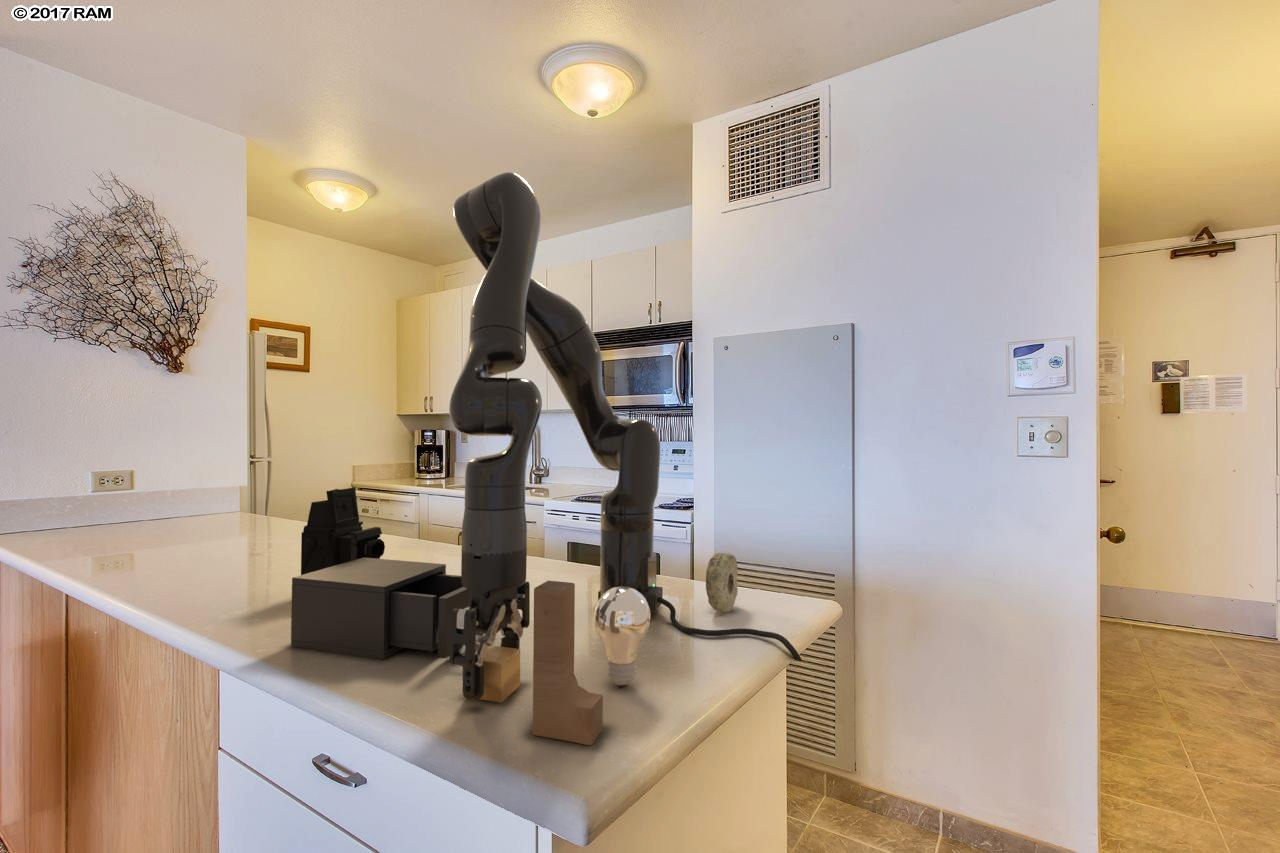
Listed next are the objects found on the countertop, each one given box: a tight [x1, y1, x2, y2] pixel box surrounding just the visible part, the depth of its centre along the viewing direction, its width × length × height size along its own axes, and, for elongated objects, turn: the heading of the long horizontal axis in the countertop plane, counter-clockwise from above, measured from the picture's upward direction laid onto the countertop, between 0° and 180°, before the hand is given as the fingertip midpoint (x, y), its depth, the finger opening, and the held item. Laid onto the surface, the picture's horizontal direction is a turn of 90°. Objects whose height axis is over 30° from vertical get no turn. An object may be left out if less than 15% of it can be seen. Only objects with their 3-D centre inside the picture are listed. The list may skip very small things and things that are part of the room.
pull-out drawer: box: [388, 573, 484, 659], centre depth 82 cm, size 19×13×8 cm, turn 74°
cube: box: [475, 645, 521, 704], centre depth 67 cm, size 4×4×4 cm
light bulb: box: [593, 586, 652, 688], centre depth 69 cm, size 7×7×12 cm
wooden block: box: [531, 580, 604, 746], centre depth 58 cm, size 7×3×15 cm, turn 73°
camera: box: [300, 486, 386, 575], centre depth 105 cm, size 10×14×20 cm
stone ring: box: [705, 552, 739, 613], centre depth 99 cm, size 10×4×10 cm, turn 150°
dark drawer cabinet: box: [290, 558, 447, 660], centre depth 85 cm, size 16×14×10 cm
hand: (492, 681), depth 67 cm, fingers open, 8 cm apart
